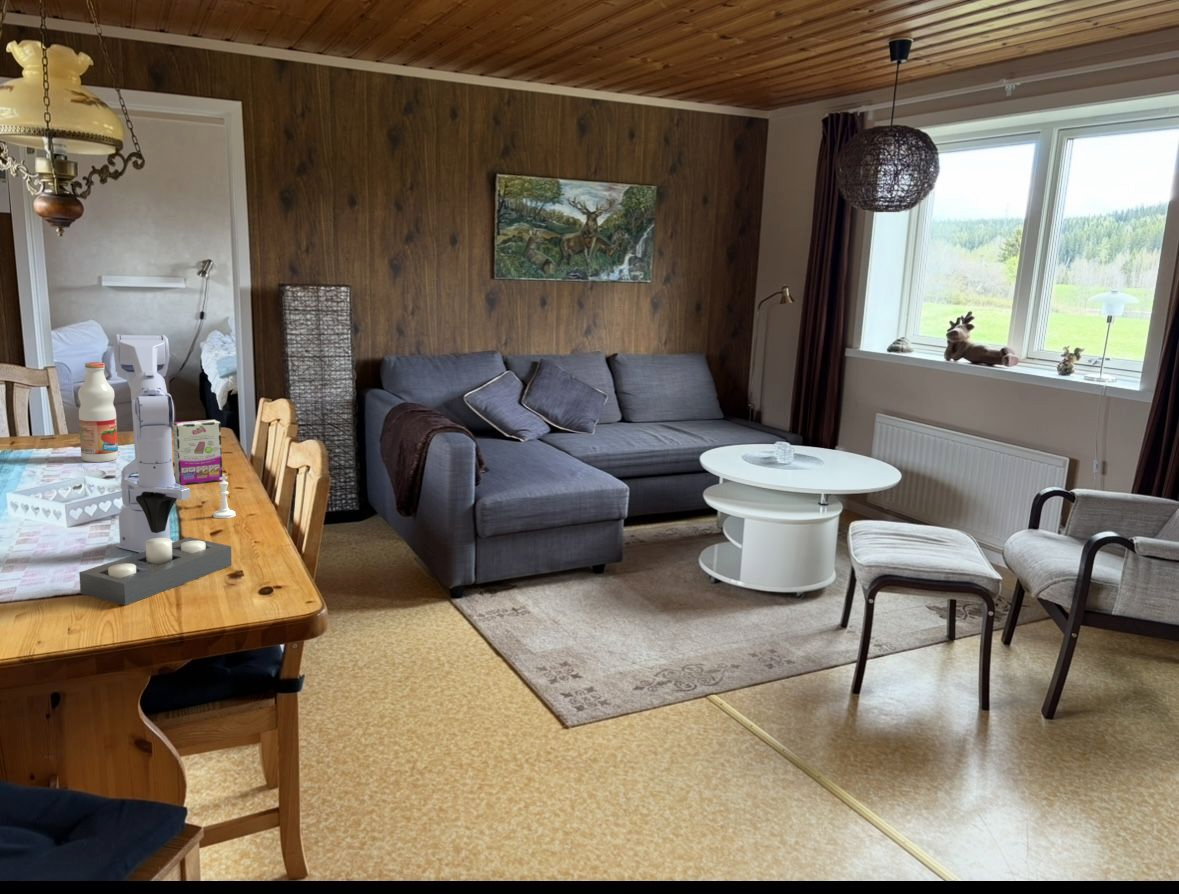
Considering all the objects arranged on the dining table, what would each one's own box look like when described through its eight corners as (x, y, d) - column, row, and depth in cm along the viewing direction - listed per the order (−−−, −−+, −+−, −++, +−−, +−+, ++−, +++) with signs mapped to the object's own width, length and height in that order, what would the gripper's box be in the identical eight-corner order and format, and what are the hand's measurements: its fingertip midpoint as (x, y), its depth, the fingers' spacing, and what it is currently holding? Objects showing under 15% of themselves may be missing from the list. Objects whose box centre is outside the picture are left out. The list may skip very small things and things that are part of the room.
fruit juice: (87, 455, 254) (81, 360, 249) (122, 455, 257) (117, 361, 251) (76, 462, 246) (70, 364, 240) (113, 462, 248) (108, 365, 242)
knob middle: (141, 565, 162) (140, 542, 161) (160, 558, 166) (159, 536, 165) (158, 569, 160) (157, 546, 159) (177, 562, 164) (177, 540, 163)
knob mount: (80, 593, 154) (79, 572, 154) (190, 555, 177) (189, 537, 176) (125, 605, 150) (124, 583, 150) (231, 565, 173) (231, 546, 172)
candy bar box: (217, 477, 239) (215, 418, 236) (223, 481, 235) (221, 422, 232) (174, 481, 232) (171, 421, 229) (179, 485, 228) (176, 424, 225)
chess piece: (209, 514, 205) (208, 473, 203) (230, 511, 208) (229, 471, 206) (218, 519, 201) (217, 478, 199) (239, 516, 205) (238, 475, 203)
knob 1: (103, 592, 155) (102, 568, 154) (125, 585, 159) (123, 561, 158) (121, 597, 153) (120, 573, 152) (142, 589, 157) (141, 566, 156)
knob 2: (176, 566, 170) (175, 545, 169) (194, 560, 174) (193, 539, 173) (193, 570, 168) (192, 548, 167) (211, 564, 172) (210, 542, 171)
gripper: (107, 458, 158) (111, 530, 161) (166, 469, 153) (169, 543, 155) (140, 452, 164) (143, 521, 167) (198, 462, 159) (200, 533, 162)
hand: (158, 531), depth 162 cm, fingers closed
